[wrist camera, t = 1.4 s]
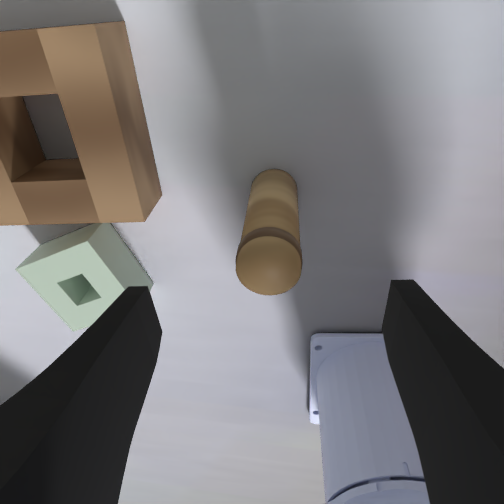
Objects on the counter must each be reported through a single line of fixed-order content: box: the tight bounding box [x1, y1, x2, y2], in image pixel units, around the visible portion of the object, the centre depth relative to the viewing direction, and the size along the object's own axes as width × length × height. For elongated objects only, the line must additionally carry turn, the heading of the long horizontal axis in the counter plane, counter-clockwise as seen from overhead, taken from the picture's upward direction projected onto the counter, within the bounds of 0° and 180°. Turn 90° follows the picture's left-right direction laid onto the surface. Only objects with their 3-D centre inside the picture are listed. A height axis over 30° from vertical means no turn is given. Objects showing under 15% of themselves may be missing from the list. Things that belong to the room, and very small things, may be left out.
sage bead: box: [15, 223, 154, 331], centre depth 22 cm, size 5×5×2 cm
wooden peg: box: [236, 169, 302, 295], centre depth 17 cm, size 2×2×7 cm
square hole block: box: [0, 21, 162, 226], centre depth 17 cm, size 8×8×3 cm
